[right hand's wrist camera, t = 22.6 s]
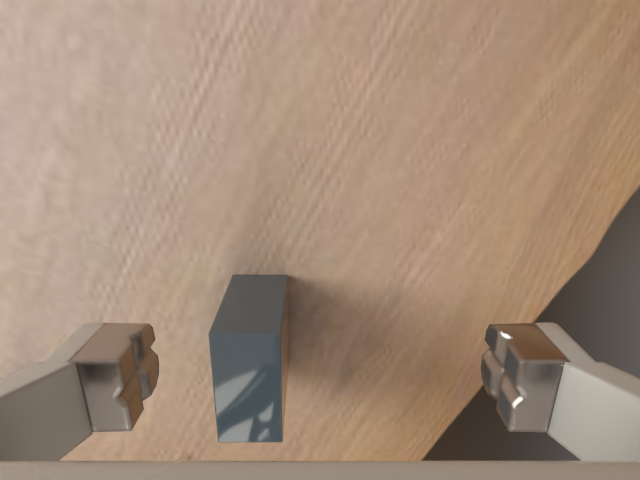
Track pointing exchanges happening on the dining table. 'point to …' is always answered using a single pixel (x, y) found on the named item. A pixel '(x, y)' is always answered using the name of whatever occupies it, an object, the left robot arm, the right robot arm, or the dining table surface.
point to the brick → (251, 359)
